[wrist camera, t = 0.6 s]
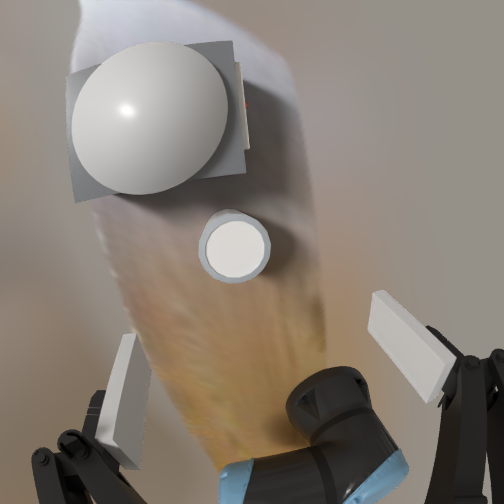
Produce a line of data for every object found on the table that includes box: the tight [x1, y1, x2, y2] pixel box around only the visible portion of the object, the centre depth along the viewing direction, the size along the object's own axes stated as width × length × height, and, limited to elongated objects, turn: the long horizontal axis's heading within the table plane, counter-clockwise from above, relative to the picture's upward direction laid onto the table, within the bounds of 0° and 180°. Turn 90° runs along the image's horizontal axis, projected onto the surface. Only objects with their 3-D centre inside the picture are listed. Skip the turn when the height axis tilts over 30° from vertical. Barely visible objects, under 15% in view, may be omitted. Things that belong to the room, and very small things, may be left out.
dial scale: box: [66, 41, 250, 203], centre depth 23 cm, size 13×16×10 cm
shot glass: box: [199, 209, 271, 283], centre depth 29 cm, size 7×7×7 cm
